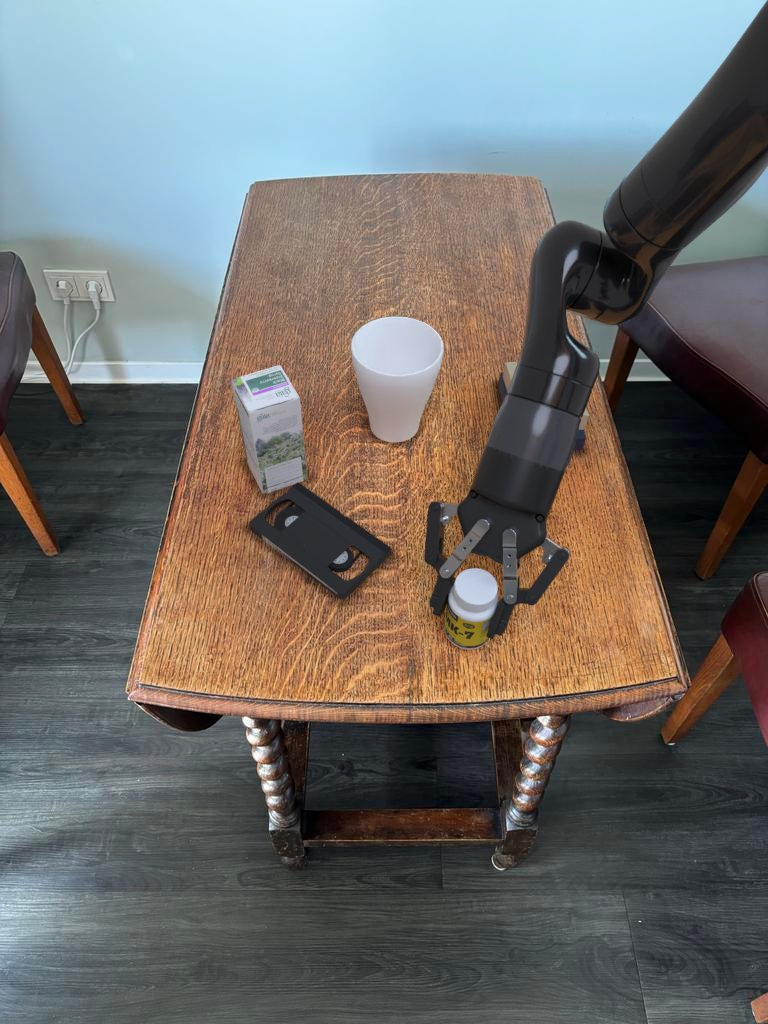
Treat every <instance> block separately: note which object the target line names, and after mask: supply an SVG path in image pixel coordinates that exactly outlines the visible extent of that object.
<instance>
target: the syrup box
mask: <svg viewBox="0 0 768 1024" xmlns="http://www.w3.org/2000/svg"><path fill="white" fill-rule="evenodd" d="M230 381H231V388H232V392H233V393H232V394H233V397H234V402H235V407H236V413H237V417H238V422H239V428H240V433H241V437H242V443H243V449H244V455H245V458H246V463H247V466H248V468H249V470H250V472H251V474H252V476H253V478H254V479H255V481H256V484H257V486H258V488H259V490H260V491H261V493H262V494H263V495H268V494H270V493H273V492H276V491H278V490H282V489H285V488H288V487H290V486H294V485H295V484H296V483H297V482H299V483H302V482H304V481H307V480H308V472H307V471H308V470H307V459H306V458H307V457H306V449H305V438H304V427H303V414H302V405H301V403H302V402H301V397H300V396H299V393H298V392H297V390H296V389H295V387H294V386H293V384H292V383H291V380H290V379H289V377H288V376H287V373H286V372H285V370H284V368H283V367H282V366H281V364H277V365H275V366H271V367H268V368H264V369H261V370H257V371H255V372H251V373H248V374H247V373H246V374H244V375H241V376H237V377H234V378H231V380H230Z"/></svg>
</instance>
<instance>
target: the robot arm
mask: <svg viewBox="0 0 768 1024" xmlns="http://www.w3.org/2000/svg"><path fill="white" fill-rule="evenodd" d="M767 168H768V0H766V1H765V2H764V4H763V5H762V6H761V8H760V9H759V11H758V12H757V13H756V15H755V17H754V18H753V19H752V21H751V22H750V24H749V25H748V27H747V28H746V29H745V30H744V32H743V33H742V35H741V36H740V38H739V39H738V41H737V42H736V43H735V45H734V46H733V47H732V48H731V50H730V52H729V53H728V54H727V56H726V57H725V59H724V60H723V62H722V63H721V64H720V65H719V67H718V68H717V69H716V71H715V72H714V73H713V74H712V75H711V77H710V78H709V79H708V80H707V82H706V83H705V84H704V86H703V87H702V88H701V89H700V91H699V92H698V93H697V94H696V96H695V97H694V98H693V99H692V101H691V102H690V103H689V104H688V106H687V107H685V109H684V110H683V111H682V112H681V113H680V114H679V115H678V117H677V118H676V119H675V120H674V122H672V124H671V125H669V127H668V128H667V129H666V130H665V131H664V133H663V134H662V135H661V136H660V137H658V139H657V141H656V142H655V143H654V144H652V146H651V147H650V148H649V149H648V150H647V151H646V152H645V153H644V155H643V156H642V157H641V158H640V159H639V160H638V161H637V162H636V163H635V165H634V166H633V167H632V168H631V169H630V170H629V171H628V172H627V174H625V176H624V177H623V178H622V179H621V180H620V182H619V183H618V184H617V185H616V186H615V187H614V188H613V190H612V192H611V193H610V195H609V196H608V197H607V199H606V201H605V204H604V207H603V211H602V224H603V228H604V231H603V230H601V229H598V228H596V227H594V226H591V225H589V224H587V223H584V222H582V221H578V220H573V219H566V220H562V221H560V222H558V223H556V224H555V225H553V226H552V227H550V228H549V229H548V230H547V231H546V232H545V233H544V234H543V236H542V237H541V239H540V240H539V241H538V243H537V246H536V247H535V250H534V252H533V255H532V258H531V262H530V268H529V276H528V288H527V289H528V290H527V308H526V317H525V324H524V332H523V339H522V344H521V349H520V354H519V357H518V360H517V362H518V363H517V366H516V369H515V372H514V375H513V377H512V380H511V383H510V386H509V389H508V392H507V394H508V395H506V396H505V399H504V401H503V403H502V405H500V408H499V409H498V411H497V412H496V415H495V418H494V420H493V422H492V425H491V428H490V431H489V434H488V437H487V440H486V442H485V445H484V448H483V451H482V454H481V457H480V460H479V462H478V465H477V468H476V471H475V473H474V477H473V479H472V483H471V485H470V487H469V491H468V493H467V495H466V497H465V498H463V500H461V501H460V502H459V503H452V502H451V503H450V502H446V501H444V500H442V499H440V500H435V501H432V502H430V503H429V505H428V506H427V508H428V509H427V520H426V521H427V522H426V529H425V543H424V555H423V558H424V559H423V561H424V562H425V564H427V565H429V566H431V567H432V568H433V569H434V570H435V571H436V572H437V579H436V582H435V584H434V588H433V590H432V593H431V596H430V599H429V607H430V608H432V609H433V610H432V615H433V616H435V617H437V618H440V617H441V616H442V615H444V612H446V608H447V601H448V595H449V592H450V589H451V588H452V586H453V585H454V583H455V580H456V578H457V577H455V576H456V574H457V572H458V571H459V569H460V568H461V567H462V566H463V565H464V564H465V562H466V561H467V560H468V559H469V558H470V557H471V555H476V556H480V557H487V558H488V559H490V560H492V561H493V562H495V563H496V564H500V565H501V566H502V579H503V596H501V598H500V599H499V603H498V605H497V608H496V611H495V613H494V616H493V619H492V622H491V624H490V627H489V630H488V632H487V635H486V637H488V638H489V640H492V641H493V640H495V638H496V636H499V637H501V636H502V635H503V634H504V633H505V632H506V630H507V629H508V625H509V623H510V621H511V617H512V615H513V612H514V610H515V607H516V606H517V605H521V604H522V605H528V606H535V605H537V603H538V602H539V601H540V599H541V598H542V596H543V595H544V594H545V593H546V591H547V589H548V588H549V587H550V585H551V584H552V583H553V581H554V580H555V579H556V578H557V576H558V575H559V573H560V571H561V570H563V568H564V567H565V565H566V563H567V562H568V561H569V559H570V557H571V550H570V548H569V547H567V546H565V545H563V546H562V545H560V544H559V543H557V542H556V541H555V540H553V539H552V538H550V537H548V529H547V521H548V519H549V516H550V513H551V511H552V508H553V505H554V502H555V499H556V497H557V494H558V492H559V489H560V486H561V484H562V481H563V479H564V475H565V473H566V470H567V467H568V466H569V465H570V463H571V460H572V454H573V451H574V450H573V449H574V446H575V443H576V439H577V435H578V430H579V426H580V422H581V418H582V417H583V414H584V411H585V409H587V405H588V403H589V400H590V397H591V395H592V393H593V389H594V387H595V384H596V382H597V379H598V376H599V372H600V368H601V361H600V357H599V356H598V354H597V353H595V351H594V350H592V349H591V348H590V347H588V346H587V345H585V344H584V343H582V342H581V341H579V340H578V339H577V338H575V336H574V335H572V333H571V332H570V329H569V326H568V318H567V312H568V313H571V314H573V315H576V316H579V317H582V318H584V319H586V320H589V321H593V322H594V323H597V324H599V325H604V326H618V325H622V324H625V323H627V322H629V321H632V320H633V319H635V318H636V317H637V316H638V315H639V314H640V313H641V312H642V311H643V310H644V309H645V307H646V305H648V302H649V300H650V299H651V297H652V295H653V294H654V292H655V290H656V288H657V287H658V285H659V283H660V282H661V281H662V279H663V278H664V276H665V275H666V273H667V272H668V270H669V269H670V267H671V266H672V265H673V263H674V261H676V259H677V258H678V257H679V256H680V254H681V253H682V251H683V250H684V249H685V248H686V247H688V246H689V245H690V244H691V243H692V242H694V241H695V240H696V239H697V238H698V237H699V236H700V235H702V234H703V233H704V232H706V231H707V229H708V228H710V227H711V226H712V225H713V224H715V222H717V221H718V220H720V218H721V217H722V216H724V215H725V214H726V213H728V211H730V209H731V208H733V206H735V205H736V204H737V203H738V202H739V201H740V200H741V199H742V198H743V197H744V195H746V193H747V192H748V191H750V189H751V188H752V187H753V186H754V185H755V183H756V182H757V181H758V180H759V178H760V177H761V176H762V175H763V174H764V172H765V171H766V170H767ZM455 516H457V519H458V521H459V525H460V529H461V532H462V535H463V536H462V537H463V538H462V540H461V542H460V543H459V544H458V545H457V547H455V548H454V550H453V551H452V553H451V555H450V556H449V557H448V558H447V557H446V555H444V541H445V530H446V526H447V525H450V524H451V523H452V521H453V518H454V517H455ZM539 547H541V548H542V549H543V554H542V556H541V562H542V563H543V564H544V565H545V566H544V568H543V570H542V571H541V572H540V574H539V575H538V577H537V578H536V580H535V581H534V582H533V583H532V585H531V586H530V587H521V575H522V558H524V557H525V556H527V555H528V554H530V553H531V552H533V551H535V550H536V549H538V548H539Z"/></svg>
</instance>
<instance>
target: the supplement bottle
mask: <svg viewBox="0 0 768 1024" xmlns="http://www.w3.org/2000/svg"><path fill="white" fill-rule="evenodd" d="M455 578H456V580H455V583H454V585H453V586H452V588H451V589H450V592H449V595H448V601H447V605H446V608H445V617H444V620H443V621H444V622H443V630H444V634H445V636H446V638H447V639H448V641H449V642H450V643H451V644H452V645H454V646H455V647H457V648H459V649H462V650H465V651H466V650H467V651H472V650H473V651H474V650H477V649H480V648H481V647H483V646H485V645H486V644H487V643H488V641H489V640H490V638H488V637H486V635H487V632H488V630H489V627H490V624H491V622H492V619H493V616H494V613H495V611H496V608H497V605H498V603H499V601H500V599H499V595H498V590H499V585H498V582H497V580H496V578H495V577H494V575H493V574H492V573H490V572H489V571H487V570H485V569H482V568H477V567H471V568H467V569H464V570H462V571H461V572H460V573H458V575H457V576H456V577H455Z"/></svg>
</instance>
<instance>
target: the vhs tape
mask: <svg viewBox="0 0 768 1024" xmlns="http://www.w3.org/2000/svg"><path fill="white" fill-rule="evenodd" d="M286 500H290V501H291V502H290V503H289V504H288V505H286V506H285V507H284V508H283V509H282V510H281V511H279V512H278V513H277V514H276V516H275V517H274V519H273V525H272V524H271V523H269V522H268V521H267V520H266V519H265V518H266V516H267V515H268V514H270V513H271V512H272V511H273V510H274V509H275V508H277V507H278V506H279V505H280V504H282V503H283V502H284V501H286ZM249 528H250V531H251V532H252V533H253V534H254V535H256V536H257V537H259V538H260V539H261V540H263V541H264V542H265V543H266V544H267V545H269V546H270V547H272V548H273V549H274V550H275V551H277V552H278V553H279V554H281V556H283V557H285V558H286V559H287V560H288V561H290V562H291V563H292V564H294V565H295V567H297V568H299V569H300V570H301V571H303V573H305V574H306V575H308V576H309V577H310V578H311V579H313V580H314V581H315V582H317V583H318V584H319V585H321V587H323V588H325V589H326V590H327V591H329V593H331V594H332V595H333V596H335V597H336V598H338V599H339V600H341V601H343V600H346V599H347V598H348V597H349V596H350V595H351V594H352V593H353V592H354V591H355V590H356V589H357V588H358V587H359V586H360V585H361V584H362V583H363V582H364V581H365V580H366V579H368V578H369V577H370V575H372V574H373V573H374V572H375V571H376V570H377V569H378V568H379V567H380V566H381V565H382V564H383V563H384V562H385V561H386V560H387V559H389V557H391V555H392V547H390V546H389V545H388V544H386V543H385V542H383V541H382V540H380V538H378V537H376V536H375V535H373V534H372V533H371V532H369V531H368V530H366V529H365V528H364V527H362V526H360V525H359V524H358V523H357V522H355V521H354V520H352V519H351V518H349V517H348V516H347V515H344V514H343V513H341V511H339V510H338V509H336V508H335V507H334V506H332V505H331V504H330V503H328V502H327V501H325V500H324V499H323V498H321V497H320V496H318V495H317V494H316V493H314V492H312V491H311V490H310V489H308V488H307V487H306V486H304V485H303V484H301V482H297V483H296V484H293V485H291V487H290V488H289V489H288V490H287V491H286V492H284V493H283V494H282V495H280V496H279V497H278V498H277V499H276V500H274V501H273V502H272V503H270V504H269V505H268V506H267V507H266V508H265V509H263V510H262V511H261V512H260V513H258V514H257V515H255V516H254V517H253V518H252V519H251V520H250V521H249ZM351 546H353V547H355V548H356V549H357V550H358V553H357V554H356V555H355V557H354V552H353V551H352V549H351V548H350V547H351ZM362 554H364V555H365V556H367V557H368V558H369V562H368V564H367V566H366V567H365V569H364V570H363V571H362V572H360V573H359V574H358V575H356V576H355V577H353V578H350V579H347V580H346V579H344V578H342V577H341V576H340V575H338V574H337V573H345V572H347V571H349V570H350V569H352V568H353V565H354V564H355V563H356V561H357V560H358V559H359V557H360V556H361V555H362Z"/></svg>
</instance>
